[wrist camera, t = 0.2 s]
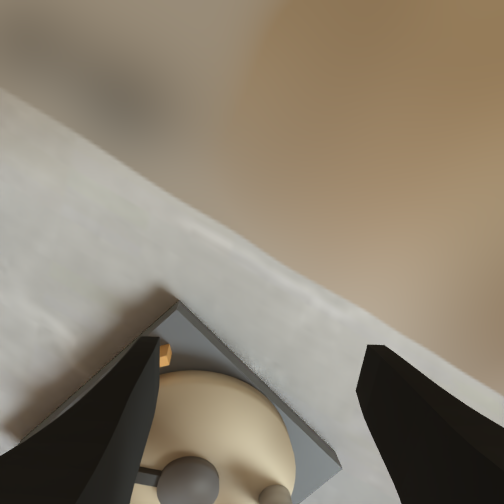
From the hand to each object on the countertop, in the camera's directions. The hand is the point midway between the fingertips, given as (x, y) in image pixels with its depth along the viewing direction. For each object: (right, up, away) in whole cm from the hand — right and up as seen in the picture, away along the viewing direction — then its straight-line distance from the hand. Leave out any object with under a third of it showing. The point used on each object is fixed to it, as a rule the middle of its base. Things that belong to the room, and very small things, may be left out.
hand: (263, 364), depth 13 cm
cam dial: (-4, -9, +11) cm, 15 cm away
